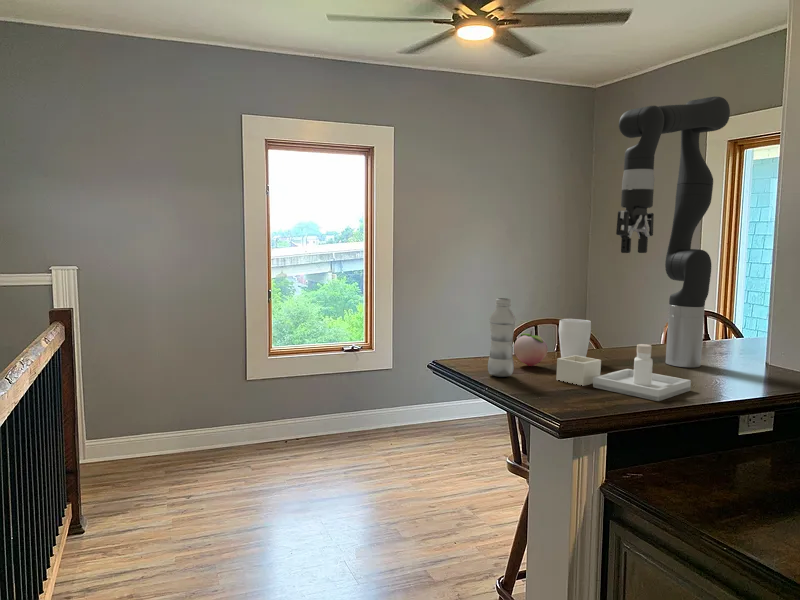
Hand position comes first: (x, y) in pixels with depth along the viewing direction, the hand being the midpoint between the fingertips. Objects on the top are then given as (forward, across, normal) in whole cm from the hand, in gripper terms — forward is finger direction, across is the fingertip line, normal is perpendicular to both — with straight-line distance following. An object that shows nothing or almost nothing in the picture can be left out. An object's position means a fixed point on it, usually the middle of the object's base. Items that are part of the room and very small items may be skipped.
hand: (634, 253), depth 153 cm
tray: (+32, +10, +9) cm, 35 cm away
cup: (+32, -6, -20) cm, 38 cm away
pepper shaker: (+31, +10, +9) cm, 34 cm away
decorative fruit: (+32, +11, -23) cm, 41 cm away
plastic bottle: (+32, +27, -20) cm, 47 cm away
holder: (+32, +15, -5) cm, 36 cm away
